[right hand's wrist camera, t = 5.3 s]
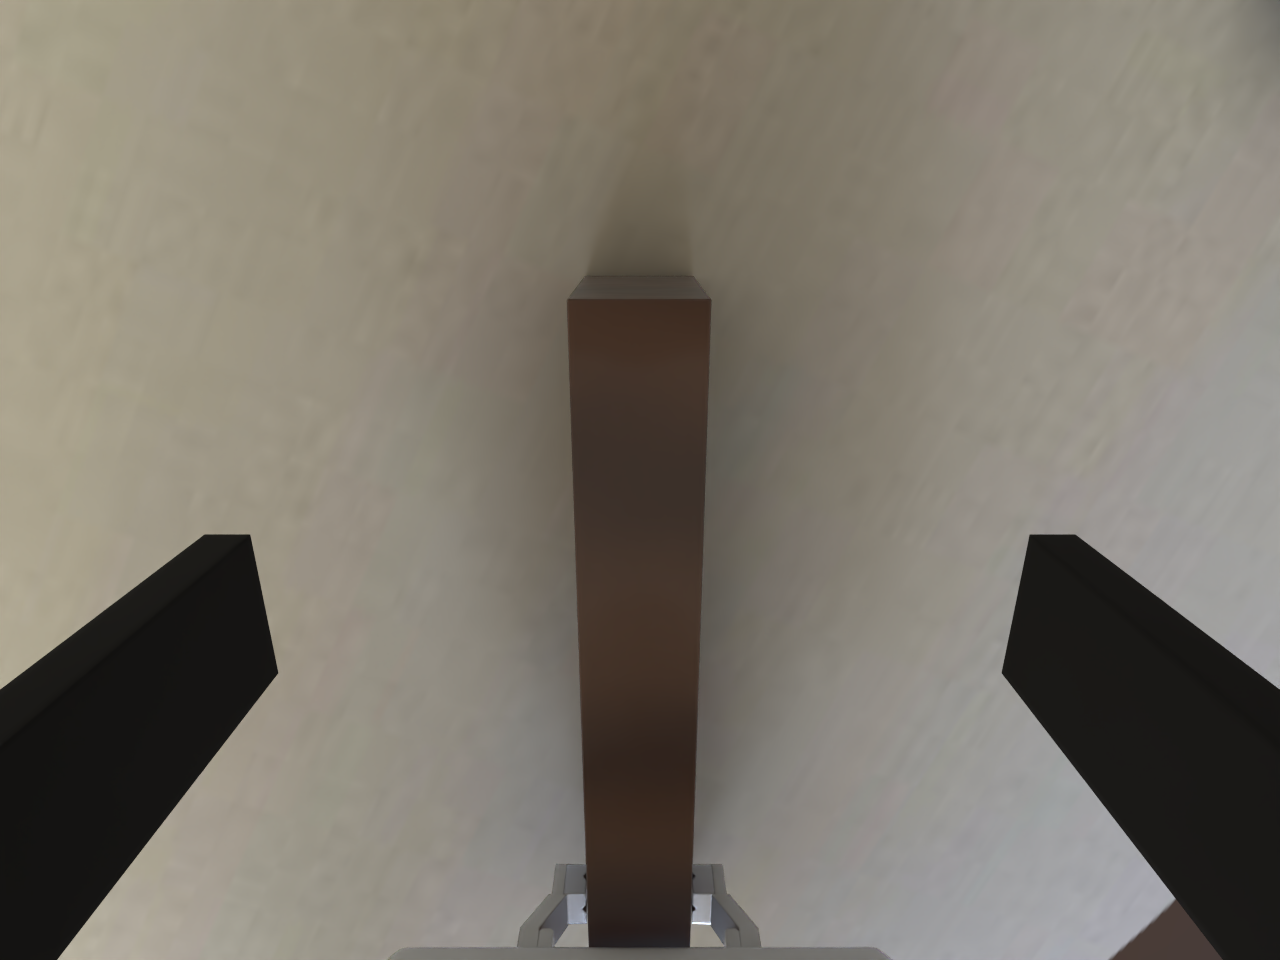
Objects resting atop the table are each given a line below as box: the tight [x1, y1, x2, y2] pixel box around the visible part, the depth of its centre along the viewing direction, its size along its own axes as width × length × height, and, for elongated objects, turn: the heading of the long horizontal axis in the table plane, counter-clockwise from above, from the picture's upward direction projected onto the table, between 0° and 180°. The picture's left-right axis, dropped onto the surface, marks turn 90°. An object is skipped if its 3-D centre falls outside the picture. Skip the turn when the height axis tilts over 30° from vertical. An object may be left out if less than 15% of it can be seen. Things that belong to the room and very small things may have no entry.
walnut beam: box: [567, 276, 711, 947], centre depth 29 cm, size 30×4×7 cm, turn 0°
